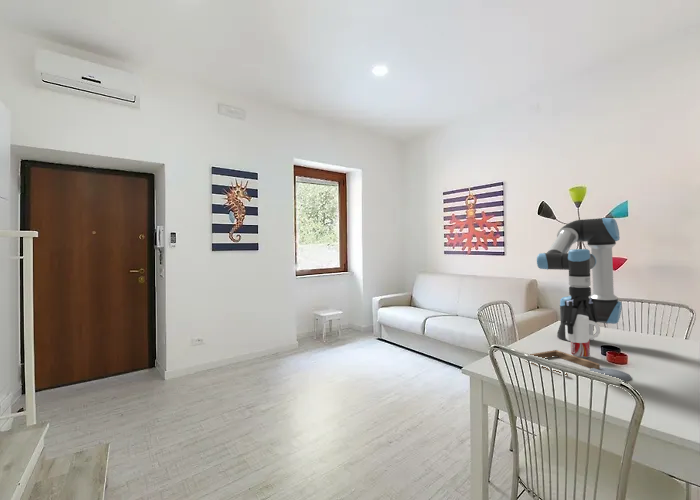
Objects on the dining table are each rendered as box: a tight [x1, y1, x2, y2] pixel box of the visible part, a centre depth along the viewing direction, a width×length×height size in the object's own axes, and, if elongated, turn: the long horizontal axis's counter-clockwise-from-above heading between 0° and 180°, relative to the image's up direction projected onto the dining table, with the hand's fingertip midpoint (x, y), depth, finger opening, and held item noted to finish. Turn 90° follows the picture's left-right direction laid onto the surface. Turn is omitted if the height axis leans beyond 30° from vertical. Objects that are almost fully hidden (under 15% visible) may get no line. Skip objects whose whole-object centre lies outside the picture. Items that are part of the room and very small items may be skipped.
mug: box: [565, 314, 601, 343], centre depth 141 cm, size 12×8×10 cm
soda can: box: [570, 340, 591, 359], centre depth 157 cm, size 7×7×13 cm
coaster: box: [589, 367, 632, 382], centre depth 135 cm, size 13×13×1 cm
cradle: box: [529, 349, 600, 377], centre depth 147 cm, size 20×19×2 cm
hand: (581, 340), depth 140 cm, fingers closed on mug, 9 cm apart
